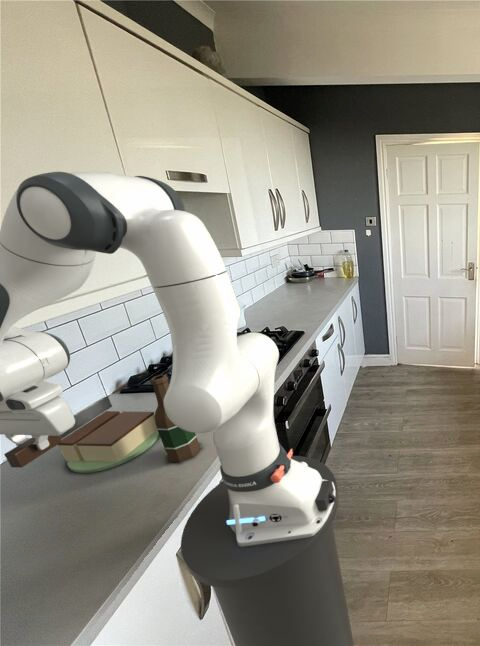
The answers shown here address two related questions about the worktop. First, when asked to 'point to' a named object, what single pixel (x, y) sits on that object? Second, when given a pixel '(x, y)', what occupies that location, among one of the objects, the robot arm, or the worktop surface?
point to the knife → (29, 453)
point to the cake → (116, 442)
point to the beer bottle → (172, 427)
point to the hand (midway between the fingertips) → (34, 447)
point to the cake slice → (83, 436)
